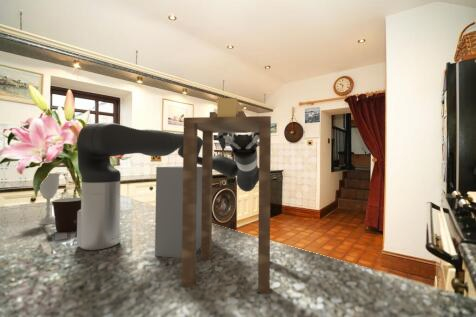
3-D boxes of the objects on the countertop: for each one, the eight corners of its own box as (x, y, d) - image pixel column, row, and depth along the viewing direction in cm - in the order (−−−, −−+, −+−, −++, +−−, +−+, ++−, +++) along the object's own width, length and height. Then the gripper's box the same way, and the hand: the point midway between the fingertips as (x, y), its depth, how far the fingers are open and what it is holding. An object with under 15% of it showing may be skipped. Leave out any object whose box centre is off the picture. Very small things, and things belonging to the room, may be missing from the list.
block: (154, 256, 56) (156, 167, 56) (177, 237, 70) (178, 166, 70) (190, 258, 55) (191, 167, 55) (206, 239, 68) (207, 166, 69)
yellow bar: (217, 117, 43) (217, 98, 43) (235, 133, 64) (235, 120, 64) (236, 117, 42) (236, 98, 42) (247, 132, 64) (247, 120, 64)
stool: (181, 286, 42) (183, 112, 43) (203, 255, 56) (205, 124, 57) (269, 293, 40) (270, 110, 41) (269, 260, 54) (270, 123, 55)
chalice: (63, 222, 86) (64, 173, 86) (40, 226, 80) (41, 174, 81) (54, 219, 90) (55, 173, 90) (32, 223, 84) (33, 173, 84)
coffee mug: (67, 234, 71) (68, 202, 72) (44, 232, 73) (45, 201, 73) (97, 224, 83) (97, 196, 83) (77, 223, 85) (77, 195, 85)
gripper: (225, 146, 78) (216, 113, 65) (267, 146, 76) (267, 112, 63) (223, 165, 75) (212, 134, 61) (267, 165, 73) (267, 134, 59)
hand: (240, 123), depth 62 cm, fingers open, 8 cm apart
